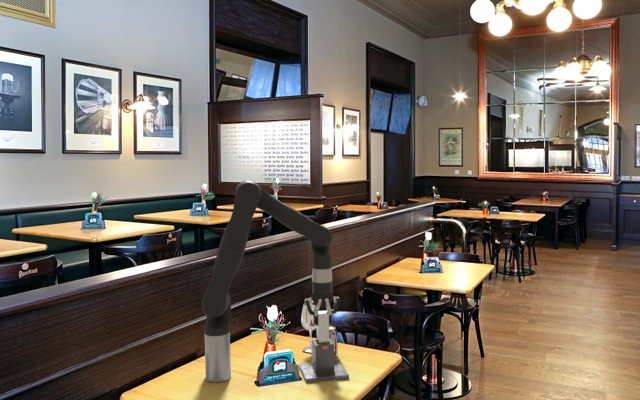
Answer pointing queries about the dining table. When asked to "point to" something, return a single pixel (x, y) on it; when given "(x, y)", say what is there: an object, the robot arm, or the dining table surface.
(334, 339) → the soda can
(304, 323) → the wineglass
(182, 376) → the dining table surface
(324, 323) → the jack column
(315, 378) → the stand base
